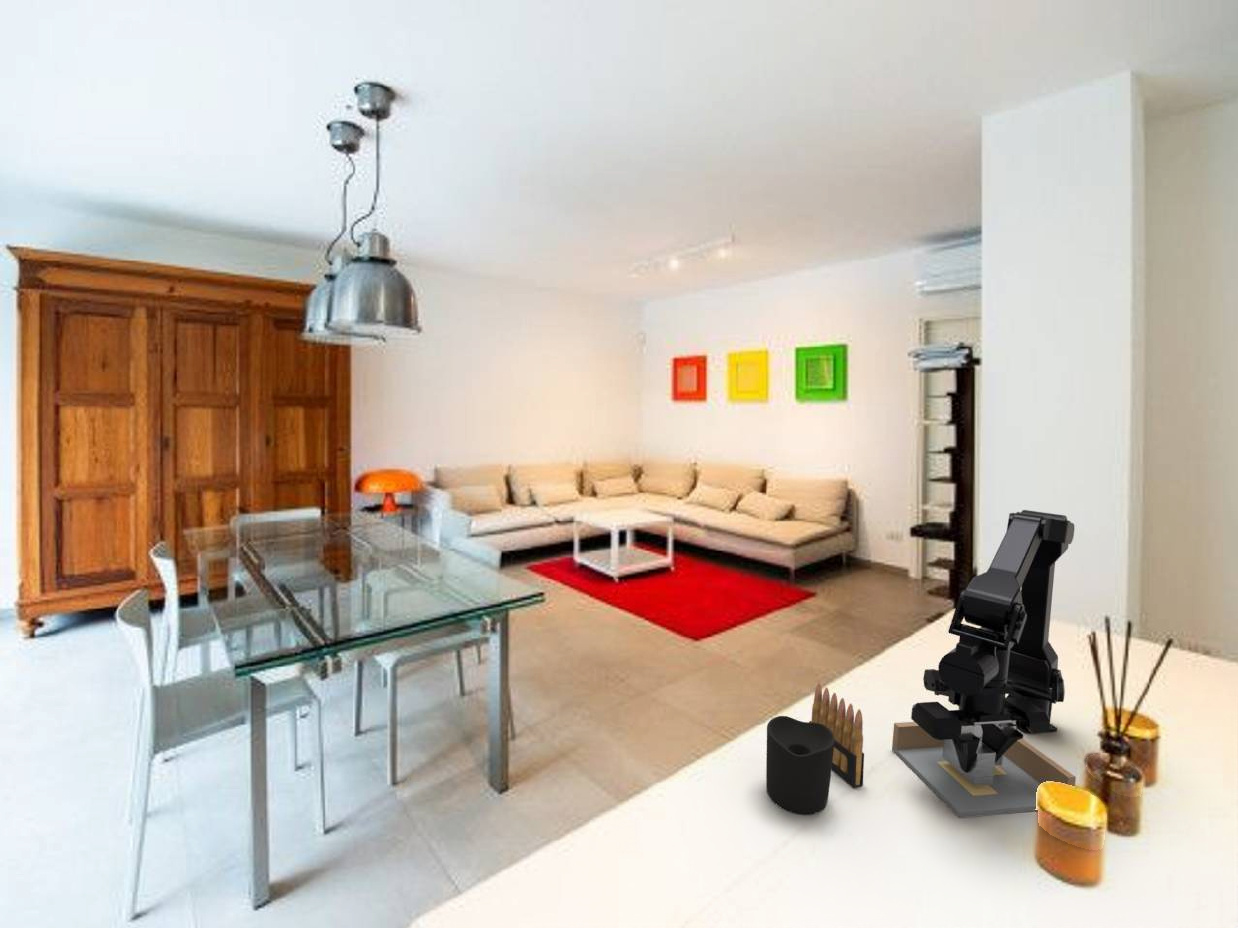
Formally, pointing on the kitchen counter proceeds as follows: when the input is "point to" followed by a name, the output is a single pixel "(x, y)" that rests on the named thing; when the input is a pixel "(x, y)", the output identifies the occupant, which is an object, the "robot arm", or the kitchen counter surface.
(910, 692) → the kitchen counter surface
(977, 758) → the angle bracket
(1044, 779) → the arena
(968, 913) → the kitchen counter surface
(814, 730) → the pen holder
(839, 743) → the ammunition clip
